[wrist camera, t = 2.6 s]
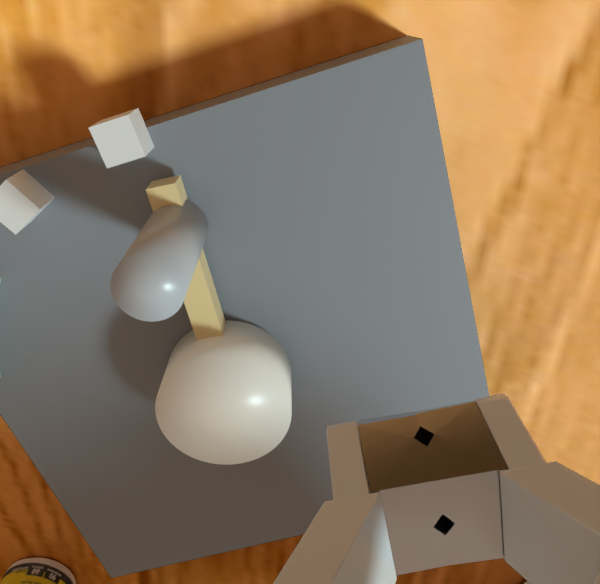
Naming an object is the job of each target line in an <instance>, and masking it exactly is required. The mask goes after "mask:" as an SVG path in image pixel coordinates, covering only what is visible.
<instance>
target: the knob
mask: <svg viewBox="0 0 600 584" xmlns="http://www.w3.org/2000/svg"><path fill="white" fill-rule="evenodd" d="M146 192H147V195H148V198H149V201H150V204H151V207H152V210H153V213H152V214H151V216H150V217H149V219H148V220H147V222H146V223H145V225H144V226H143V228H142V229H141V231H140V232H139V234H138V235H137V237H136V238H135V240H134V241H133V243H132V245H131V246H130V248H129V249H128V251H127V252H126V254H125V255H124V257H123V258H122V260H121V261H120V263H119V264H118V266H117V267H116V269H115V270H114V272H113V274H112V277H111V282H110V288H111V293H112V296H113V298H114V300H115V302H116V304H117V305H118V306H119V307H120V308H121V309H122V310H123V311H124V312H125V313H126V314H128V315H130V316H131V317H133V318H136V319H139V320H142V321H149V322H155V321H161V320H165V319H167V318H169V317H171V316H173V315H174V314H175V313H176V312H177V311H178V310H179V309H180V308H181V306H182V304H183V301H184V304H185V307H186V310H187V313H188V316H189V319H190V322H191V325H192V328H193V330H191V331H189V332H188V333H187V334H185V335H184V336H183V337H182V338H181V339H180V340H179V341H178V343H177V344H176V345H175V347H174V349H173V351H172V353H171V356H170V358H169V361H168V364H167V367H166V370H165V373H164V376H163V379H162V382H161V385H160V388H159V391H158V394H157V397H156V402H155V413H156V419H157V422H158V425H159V427H160V429H161V431H162V433H163V434H164V435H165V437H166V438H167V439H168V440H169V442H170V443H171V444H172V445H174V446H175V447H176V448H177V449H178V450H180V451H181V452H183V453H184V454H186V455H188V456H190V457H192V458H195V459H197V460H200V461H204V462H207V463H213V464H222V465H233V464H241V463H245V462H249V461H252V460H255V459H258V458H260V457H262V456H264V455H266V454H267V453H269V452H270V451H272V450H273V449H274V448H275V447H276V446H277V445H278V444H279V443H280V442H281V441H282V440H283V438H284V437H285V435H286V433H287V431H288V429H289V426H290V423H291V417H292V389H291V365H290V361H289V358H288V356H287V354H286V352H285V350H284V348H283V347H282V346H281V344H280V343H279V342H278V341H277V340H276V339H275V338H274V337H273V336H271V335H270V334H269V333H267V332H266V331H264V330H263V329H261V328H259V327H256V326H254V325H251V324H248V323H244V322H240V321H231V320H227V321H225V318H224V315H223V312H222V309H221V305H220V302H219V299H218V296H217V292H216V289H215V286H214V283H213V279H212V276H211V273H210V269H209V266H208V263H207V260H206V256H205V253H204V250H203V246H204V243H205V240H206V237H207V234H208V221H207V218H206V216H205V214H204V212H203V211H202V210H201V209H200V207H198V206H197V205H196V204H195V203H193V202H191V201H189V200H188V198H187V195H186V191H185V188H184V185H183V182H182V178H181V175H178V176H173V177H169V178H164V179H159V180H155V181H152V182H151V183H150V184H149V186H148V187H147V188H146Z"/></svg>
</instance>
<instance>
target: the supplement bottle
mask: <svg viewBox="0 0 600 584" xmlns="http://www.w3.org/2000/svg"><path fill="white" fill-rule="evenodd" d="M0 584H76V581H75V578H74V576H73V574H72V573H71V571H70V570H69V569H68V568H67V567H65V566H64V565H63V564H61V563H59V562H57V561H54V560H52V559H48V558H41V557H34V558H26V559H22V560H19V561H17V562H15V563H14V564H12V565H11V566H10V567H9V568H8V570H7V571H6V573H5V575H4V577H3V579H2V581H1V583H0Z"/></svg>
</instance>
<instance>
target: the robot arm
mask: <svg viewBox="0 0 600 584" xmlns="http://www.w3.org/2000/svg"><path fill="white" fill-rule="evenodd" d="M357 424H358V427H357ZM358 430H359V431H358ZM326 434H327V443H328V453H329V462H330V472H331V481H332V491H333V500H330V501H325V502H324V503H323V505H322V506H321V508H320V510H319V511H318V513H317V514H316V516H315V518H314V519H313V521H312V522H311V524H310V525H309V527H308V529H307V530H306V532H305V533H304V535H303V537H302V538H301V540H300V541H299V543H298V545H297V546H296V548H295V549H294V551H293V552H292V554H291V556H290V557H289V559H288V560H287V562H286V564H285V565H284V567H283V568H282V570H281V572H280V573H279V575H278V576H277V578H276V579H275V581H274V583H273V584H395V583H396V580H397V577H396V575H402V574H407V573H412V572H417V571H422V570H428V569H433V568H438V567H443V566H448V565H456V564H463V563H471V562H478V561H485V560H493V559H500V558H505V561H506V562H507V563H508V564H509V565H510V566H511V567H512V568H514V569H515V570H516V571H517V572H518V573H519V574H520V575H521V576H522V577H524V578H525V579H526V580H527V582H525V583H524V584H600V485H598V484H597V483H595V482H593V481H591V480H589V479H587V478H586V477H584V476H582V475H580V474H578V473H577V472H575V471H573V470H571V469H569V468H567V467H566V466H564V465H562V464H560V463H558V462H550V463H546V461H545V459H544V457H543V456H542V454H541V452H540V451H539V449H538V447H537V445H536V444H535V442H534V440H533V439H532V437H531V435H530V434H529V432H528V430H527V428H526V427H525V425H524V423H523V422H522V420H521V418H520V416H519V415H518V413H517V411H516V410H515V408H514V406H513V404H512V403H511V401H510V399H509V398H508V396H506V395H504V394H499V395H494V396H489V397H485V398H480V399H475V400H473V401H468V402H462V403H457V404H452V405H446V406H441V407H436V408H431V409H425V410H420V411H414V412H408V413H401V414H395V415H389V416H382V417H376V418H370V419H363V420H357V422H355V421H354V422H348V423H341V424H335V425H329V426H327V431H326ZM359 435H360V436H359Z"/></svg>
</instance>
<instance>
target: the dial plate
mask: <svg viewBox="0 0 600 584" xmlns="http://www.w3.org/2000/svg"><path fill="white" fill-rule="evenodd" d="M88 128H89V130H90V133H91V135H92V138H89V139H86V140H83V141H80V142H77V143H74V144H71V145H67V146H64V147H61V148H58V149H55V150H52V151H49V152H46V153H43V154H40V155H37V156H33V157H30V158H27V159H24V160H21V161H18V162H15V163H12V164H9V165H6V166H3V167H0V415H1V416H2V418H3V419H4V421H5V422H6V423H7V425H8V426H9V428H10V429H11V431H12V432H13V434H14V435H15V437H16V438H17V440H18V441H19V443H20V444H21V446H22V447H23V449H24V450H25V452H26V453H27V454H28V456H29V457H30V459H31V460H32V462H33V463H34V465H35V466H36V468H37V469H38V471H39V472H40V474H41V475H42V477H43V478H44V480H45V481H46V482H47V484H48V485H49V487H50V488H51V490H52V491H53V493H54V494H55V496H56V497H57V499H58V500H59V502H60V503H61V505H62V506H63V508H64V509H65V510H66V512H67V513H68V515H69V516H70V518H71V519H72V521H73V522H74V524H75V525H76V527H77V528H78V530H79V531H80V533H81V534H82V536H83V537H84V538H85V540H86V541H87V543H88V544H89V546H90V547H91V549H92V550H93V552H94V553H95V555H96V556H97V558H98V559H99V561H100V562H101V564H102V565H103V567H104V568H105V569H106V571H107V572H108V574H109V575H110V577H111V578H114V577H118V576H123V575H127V574H131V573H136V572H140V571H145V570H149V569H153V568H158V567H162V566H167V565H171V564H175V563H180V562H184V561H189V560H193V559H197V558H202V557H206V556H211V555H215V554H220V553H224V552H228V551H233V550H237V549H242V548H246V547H250V546H255V545H259V544H264V543H268V542H272V541H277V540H281V539H286V538H290V537H294V536H299V535H303V534H304V533H305V532H306V530H307V529H308V527H309V525H310V524H311V522H312V521H313V519H314V518H315V516H316V514H317V513H318V511H319V510H320V508H321V506H322V505H323V503H324V502H325V501H330V500H333V491H332V481H331V472H330V462H329V453H328V443H327V434H326V431H327V426H329V425H335V424H341V423H348V422H354V421H355V422H357V420H363V419H370V418H376V417H382V416H389V415H395V414H401V413H408V412H414V411H420V410H425V409H431V408H436V407H441V406H446V405H452V404H457V403H462V402H468V401H473V400H475V399H480V398H485V397H489V393H488V387H487V382H486V377H485V371H484V366H483V361H482V355H481V350H480V345H479V339H478V334H477V328H476V323H475V318H474V312H473V307H472V302H471V296H470V291H469V286H468V280H467V275H466V270H465V264H464V259H463V254H462V248H461V243H460V237H459V232H458V227H457V221H456V216H455V211H454V205H453V200H452V195H451V189H450V184H449V179H448V173H447V168H446V163H445V157H444V152H443V146H442V141H441V136H440V130H439V125H438V120H437V114H436V109H435V104H434V98H433V93H432V88H431V82H430V77H429V72H428V66H427V61H426V55H425V50H424V45H423V39H421V38H417V37H412V36H408V35H407V36H404V37H401V38H398V39H395V40H392V41H389V42H385V43H382V44H379V45H376V46H373V47H370V48H367V49H364V50H361V51H358V52H355V53H352V54H348V55H345V56H342V57H339V58H336V59H333V60H330V61H327V62H324V63H321V64H318V65H314V66H311V67H308V68H305V69H302V70H299V71H296V72H293V73H290V74H287V75H284V76H281V77H277V78H274V79H271V80H268V81H265V82H262V83H259V84H256V85H253V86H250V87H247V88H243V89H240V90H237V91H234V92H231V93H228V94H225V95H222V96H219V97H216V98H213V99H209V100H206V101H203V102H200V103H197V104H194V105H191V106H188V107H185V108H182V109H179V110H176V111H172V112H169V113H166V114H163V115H160V116H157V117H154V118H151V119H148V120H145V121H144V120H143V118H142V115H141V113H140V111H139V108H136V109H133V110H130V111H127V112H124V113H121V114H118V115H115V116H112V117H109V118H106V119H103V120H100V121H98V122H97V123H95V124H93V125H92V126H90V127H88ZM178 175H181V178H182V182H183V185H184V188H185V191H186V195H187V198H188V200H189V201H191V202H193V203H195V204H196V205H197V206H198V207H200V209H201V210H202V211H203V212H204V214H205V216H206V218H207V221H208V234H207V237H206V240H205V243H204V246H203V250H204V253H205V256H206V260H207V263H208V266H209V269H210V273H211V276H212V279H213V283H214V286H215V289H216V292H217V296H218V299H219V302H220V305H221V309H222V312H223V315H224V318H225V321H227V320H231V321H240V322H244V323H248V324H251V325H254V326H256V327H259V328H261V329H263V330H264V331H266V332H267V333H269V334H270V335H271V336H273V337H274V338H275V339H276V340H277V341H278V342H279V343H280V344H281V346H282V347H283V348H284V350H285V352H286V354H287V356H288V358H289V361H290V365H291V389H292V417H291V423H290V426H289V429H288V431H287V433H286V435H285V437H284V438H283V440H282V441H281V442H280V443H279V444H278V445H277V446H276V447H275V448H274V449H273V450H272V451H270V452H269V453H267V454H266V455H264V456H262V457H260V458H258V459H255V460H252V461H249V462H245V463H241V464H233V465H222V464H213V463H207V462H204V461H200V460H197V459H195V458H192V457H190V456H188V455H186V454H184V453H183V452H181V451H180V450H178V449H177V448H176V447H175V446H174V445H172V444H171V443H170V442H169V440H168V439H167V438H166V437H165V435H164V434H163V433H162V431H161V429H160V427H159V425H158V422H157V419H156V413H155V402H156V397H157V394H158V391H159V388H160V385H161V382H162V379H163V376H164V373H165V370H166V367H167V364H168V361H169V358H170V356H171V353H172V351H173V349H174V347H175V345H176V344H177V343H178V341H179V340H180V339H181V338H182V337H183V336H184V335H185V334H187V333H188V332H189V331H191V330H193V328H192V325H191V322H190V319H189V316H188V313H187V310H186V307H185V304H184V301H183V304H182V306H181V308H180V309H179V310H178V311H177V312H176V313H175V314H174V315H173V316H171V317H169V318H167V319H165V320H161V321H155V322H149V321H142V320H139V319H136V318H133V317H131V316H130V315H128V314H126V313H125V312H124V311H123V310H122V309H121V308H120V307H119V306H118V305H117V304H116V302H115V300H114V298H113V296H112V293H111V288H110V282H111V277H112V274H113V272H114V270H115V269H116V267H117V266H118V264H119V263H120V261H121V260H122V258H123V257H124V255H125V254H126V252H127V251H128V249H129V248H130V246H131V245H132V243H133V241H134V240H135V238H136V237H137V235H138V234H139V232H140V231H141V229H142V228H143V226H144V225H145V223H146V222H147V220H148V219H149V217H150V216H151V214H152V213H153V210H152V207H151V204H150V201H149V198H148V195H147V192H146V188H147V187H148V186H149V184H150V183H151V182H152V181H155V180H159V179H164V178H169V177H173V176H178ZM357 427H358V424H357ZM358 431H359V430H358ZM359 436H360V435H359Z"/></svg>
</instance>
